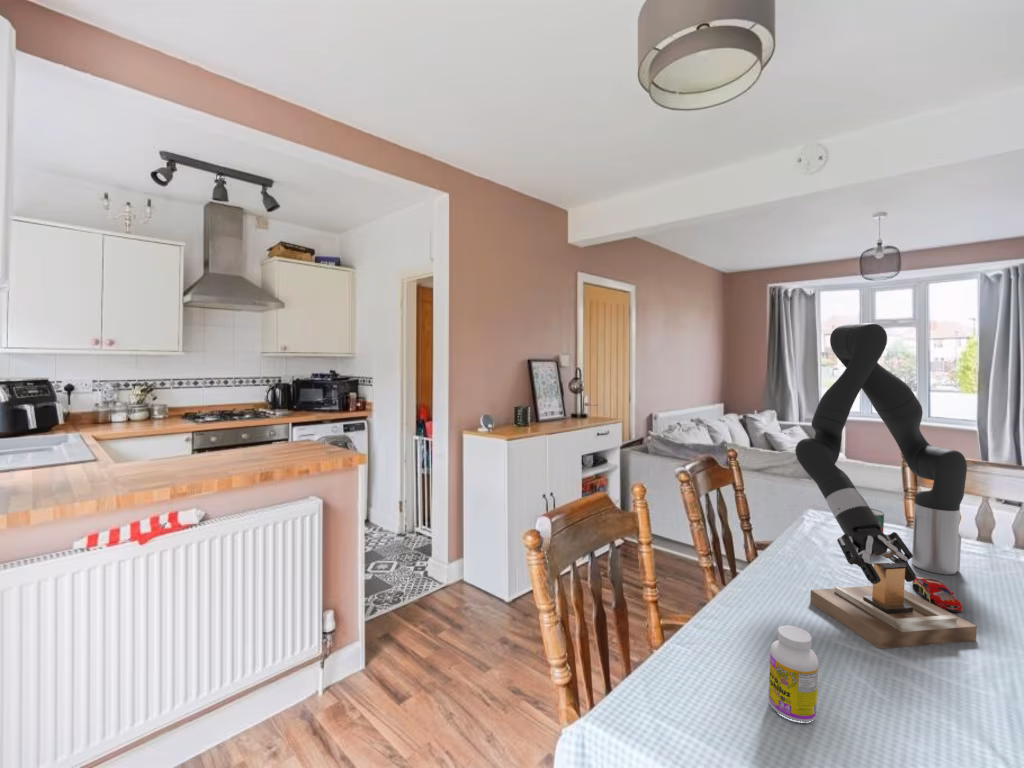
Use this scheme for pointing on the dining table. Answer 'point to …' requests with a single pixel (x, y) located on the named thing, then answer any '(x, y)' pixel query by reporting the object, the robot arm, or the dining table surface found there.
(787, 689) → the supplement bottle
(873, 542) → the robot arm
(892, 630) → the dock
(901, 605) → the block with metal roller
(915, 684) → the dining table surface
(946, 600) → the race car
